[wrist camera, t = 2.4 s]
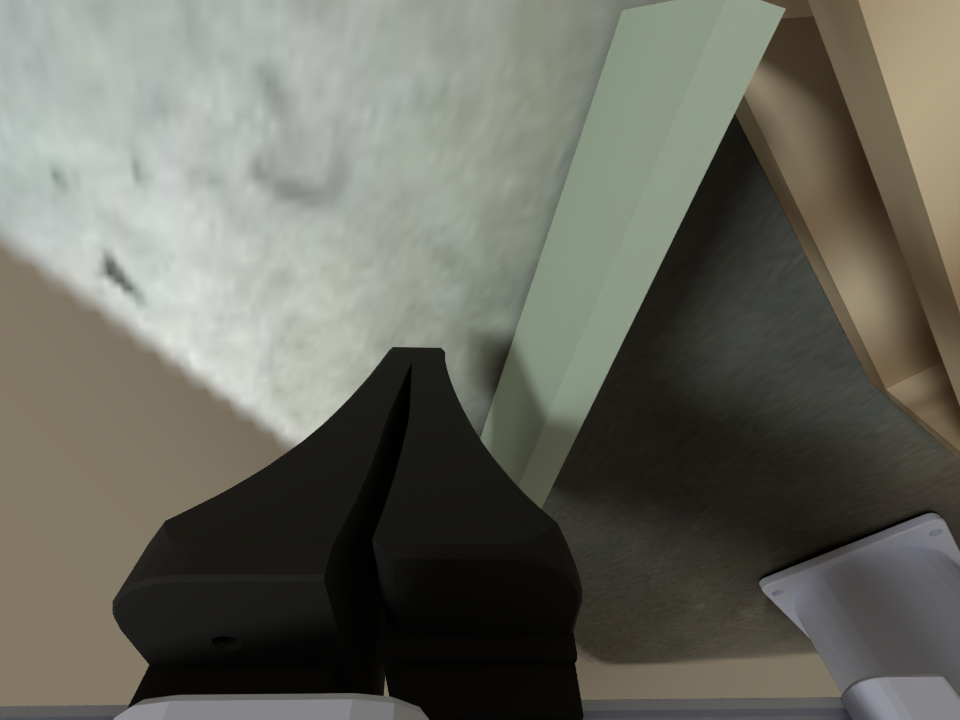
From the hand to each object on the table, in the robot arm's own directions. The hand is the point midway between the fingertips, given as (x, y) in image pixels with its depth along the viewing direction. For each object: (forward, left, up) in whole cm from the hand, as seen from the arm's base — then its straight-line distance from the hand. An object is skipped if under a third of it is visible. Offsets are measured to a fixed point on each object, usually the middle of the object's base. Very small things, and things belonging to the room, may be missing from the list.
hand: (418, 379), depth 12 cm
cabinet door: (-1, -3, -3) cm, 4 cm away
